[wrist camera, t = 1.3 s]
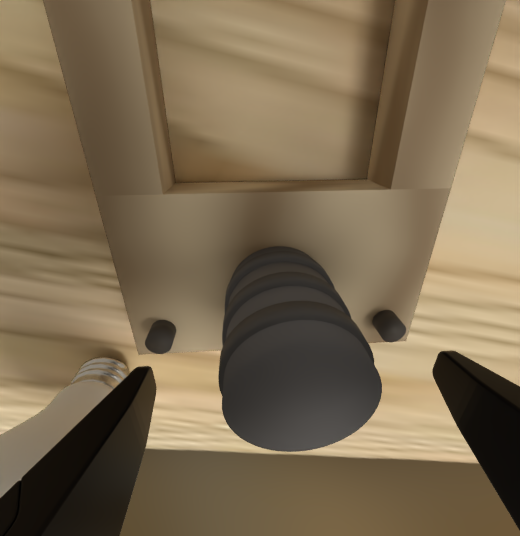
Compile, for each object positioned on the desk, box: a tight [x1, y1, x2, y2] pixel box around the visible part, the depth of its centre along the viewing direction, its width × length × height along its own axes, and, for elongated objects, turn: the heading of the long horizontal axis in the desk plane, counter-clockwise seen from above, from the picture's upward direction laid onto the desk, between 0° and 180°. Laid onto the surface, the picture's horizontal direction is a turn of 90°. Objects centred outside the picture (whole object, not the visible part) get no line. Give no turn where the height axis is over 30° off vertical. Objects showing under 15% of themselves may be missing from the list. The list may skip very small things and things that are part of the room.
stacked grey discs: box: [219, 246, 382, 452], centre depth 10 cm, size 5×5×6 cm
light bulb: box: [0, 357, 130, 498], centre depth 13 cm, size 7×7×11 cm
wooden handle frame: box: [43, 0, 506, 355], centre depth 11 cm, size 14×16×4 cm
